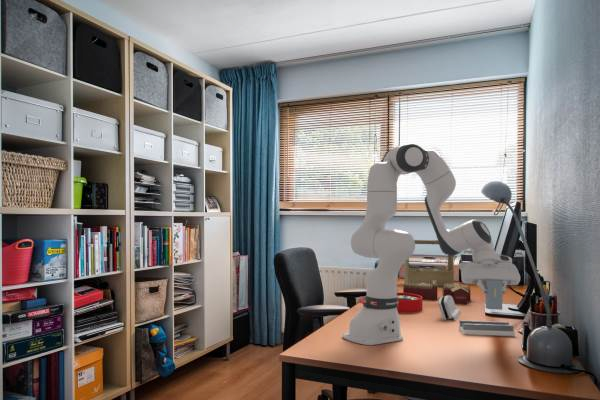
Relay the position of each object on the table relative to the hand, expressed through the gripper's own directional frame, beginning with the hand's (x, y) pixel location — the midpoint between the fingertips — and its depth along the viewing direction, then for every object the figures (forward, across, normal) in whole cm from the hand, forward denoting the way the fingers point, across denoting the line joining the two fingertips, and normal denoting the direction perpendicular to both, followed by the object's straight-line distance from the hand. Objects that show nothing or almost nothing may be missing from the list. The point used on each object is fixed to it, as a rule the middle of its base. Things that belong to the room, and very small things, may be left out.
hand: (494, 292), depth 157 cm
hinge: (-14, -8, +38) cm, 41 cm away
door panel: (+4, 0, +5) cm, 6 cm away
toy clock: (-24, -27, +48) cm, 60 cm away
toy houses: (-42, -11, +66) cm, 79 cm away
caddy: (-77, -1, +100) cm, 126 cm away
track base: (+4, 0, +20) cm, 20 cm away
